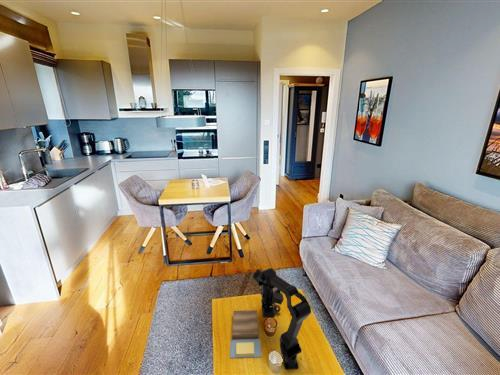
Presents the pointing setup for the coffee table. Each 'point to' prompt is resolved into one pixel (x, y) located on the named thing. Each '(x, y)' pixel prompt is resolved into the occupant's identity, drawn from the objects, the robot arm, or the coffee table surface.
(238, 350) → the bevelled yellow tile
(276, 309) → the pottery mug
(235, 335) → the deck
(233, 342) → the mat
